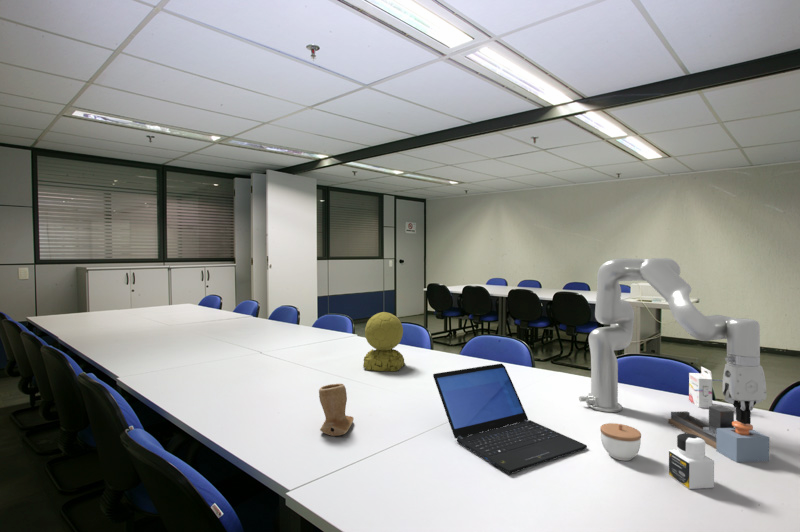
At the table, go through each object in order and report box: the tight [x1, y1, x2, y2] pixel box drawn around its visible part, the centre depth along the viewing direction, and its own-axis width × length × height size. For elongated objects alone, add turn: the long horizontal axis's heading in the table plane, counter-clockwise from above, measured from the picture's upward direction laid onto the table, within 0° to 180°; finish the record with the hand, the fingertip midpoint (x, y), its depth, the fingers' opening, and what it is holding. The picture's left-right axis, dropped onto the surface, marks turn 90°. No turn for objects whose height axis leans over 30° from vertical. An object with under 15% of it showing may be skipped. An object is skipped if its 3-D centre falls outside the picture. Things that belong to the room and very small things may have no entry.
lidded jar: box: [600, 422, 642, 462], centre depth 123 cm, size 11×11×9 cm
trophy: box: [362, 311, 405, 372], centre depth 227 cm, size 22×22×30 cm
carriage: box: [703, 405, 735, 438], centre depth 130 cm, size 7×6×10 cm
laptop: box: [432, 363, 588, 475], centre depth 136 cm, size 33×38×19 cm
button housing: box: [715, 427, 770, 463], centre depth 123 cm, size 10×7×7 cm
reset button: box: [732, 420, 754, 436], centre depth 123 cm, size 5×5×4 cm
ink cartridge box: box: [688, 366, 713, 409], centre depth 166 cm, size 9×5×15 cm, turn 168°
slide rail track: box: [667, 410, 716, 450], centre depth 137 cm, size 8×22×4 cm, turn 3°
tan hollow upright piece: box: [318, 383, 354, 437], centre depth 143 cm, size 15×12×15 cm
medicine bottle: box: [668, 432, 715, 490], centre depth 108 cm, size 7×7×12 cm
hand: (743, 422), depth 122 cm, fingers closed
